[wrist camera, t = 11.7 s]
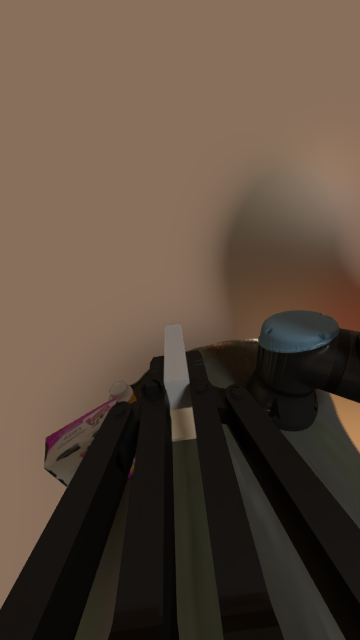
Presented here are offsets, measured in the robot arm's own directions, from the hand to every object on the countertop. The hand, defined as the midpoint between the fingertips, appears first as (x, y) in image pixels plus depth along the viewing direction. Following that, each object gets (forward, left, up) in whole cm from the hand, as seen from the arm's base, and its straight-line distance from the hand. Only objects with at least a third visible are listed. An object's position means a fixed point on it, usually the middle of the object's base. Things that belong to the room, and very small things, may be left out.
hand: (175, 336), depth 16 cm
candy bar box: (+16, -2, -32) cm, 36 cm away
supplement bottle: (+16, -14, -32) cm, 39 cm away
